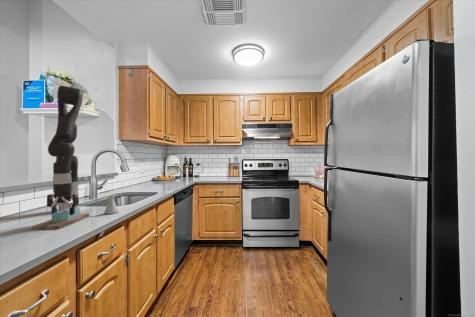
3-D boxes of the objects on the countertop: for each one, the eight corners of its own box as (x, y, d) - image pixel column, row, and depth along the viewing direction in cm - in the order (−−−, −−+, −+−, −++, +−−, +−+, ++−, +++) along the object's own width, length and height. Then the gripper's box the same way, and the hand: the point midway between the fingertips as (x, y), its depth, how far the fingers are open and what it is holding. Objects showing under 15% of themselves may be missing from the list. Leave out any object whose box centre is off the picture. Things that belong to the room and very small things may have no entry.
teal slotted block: (51, 222, 116) (51, 213, 116) (70, 215, 129) (70, 207, 129) (62, 221, 116) (62, 213, 116) (79, 215, 129) (79, 207, 129)
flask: (112, 214, 136) (112, 196, 135) (101, 214, 137) (100, 196, 137) (121, 211, 143) (120, 194, 143) (110, 211, 144) (110, 194, 144)
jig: (32, 229, 110) (32, 218, 110) (67, 216, 132) (66, 207, 132) (59, 229, 110) (58, 218, 110) (89, 216, 132) (88, 207, 132)
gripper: (81, 181, 124) (82, 213, 125) (53, 181, 124) (54, 213, 125) (71, 183, 117) (72, 216, 117) (42, 183, 117) (42, 217, 117)
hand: (63, 215), depth 121 cm, fingers open, 8 cm apart
